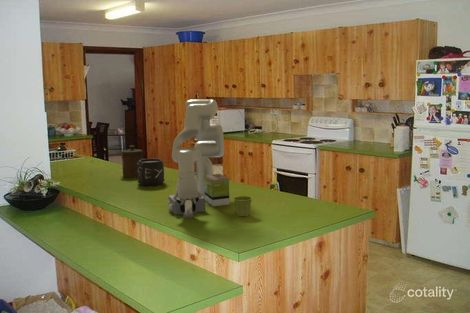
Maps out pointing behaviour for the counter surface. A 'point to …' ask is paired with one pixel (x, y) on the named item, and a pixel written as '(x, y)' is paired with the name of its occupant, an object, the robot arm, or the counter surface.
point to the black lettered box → (150, 172)
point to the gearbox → (175, 206)
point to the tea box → (216, 189)
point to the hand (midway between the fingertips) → (188, 211)
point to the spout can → (188, 208)
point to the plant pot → (243, 205)
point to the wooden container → (131, 161)
